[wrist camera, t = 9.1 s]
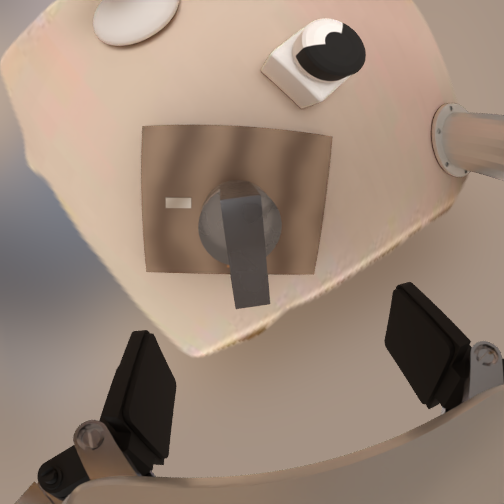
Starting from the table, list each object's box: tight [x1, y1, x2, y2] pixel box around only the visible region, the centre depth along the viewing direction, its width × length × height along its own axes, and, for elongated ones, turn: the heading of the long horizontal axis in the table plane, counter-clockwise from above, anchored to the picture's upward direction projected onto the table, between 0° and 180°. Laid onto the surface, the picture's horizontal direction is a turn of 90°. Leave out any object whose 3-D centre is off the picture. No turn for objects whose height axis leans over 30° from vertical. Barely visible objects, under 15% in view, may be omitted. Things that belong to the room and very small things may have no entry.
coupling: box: [198, 180, 282, 309], centre depth 22 cm, size 10×7×10 cm
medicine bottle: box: [261, 19, 366, 109], centre depth 22 cm, size 7×7×12 cm
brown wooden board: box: [141, 125, 332, 274], centre depth 30 cm, size 22×18×7 cm
